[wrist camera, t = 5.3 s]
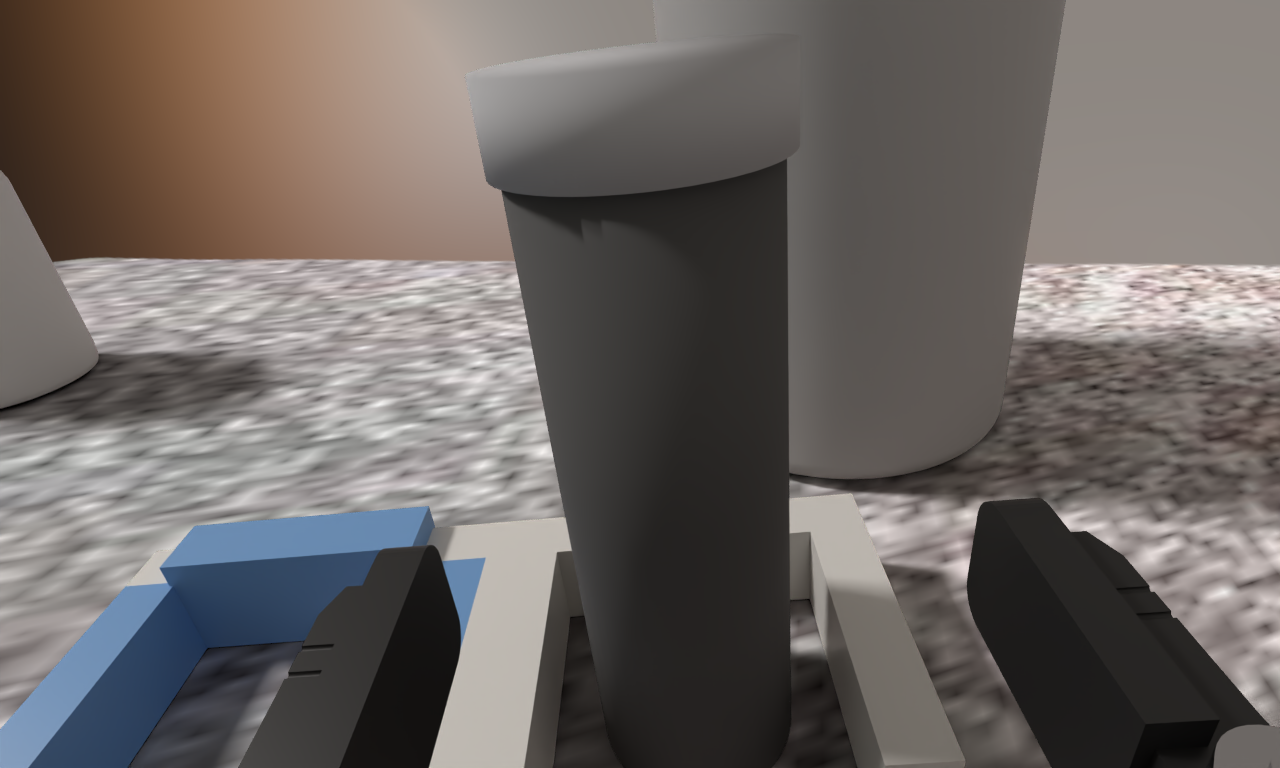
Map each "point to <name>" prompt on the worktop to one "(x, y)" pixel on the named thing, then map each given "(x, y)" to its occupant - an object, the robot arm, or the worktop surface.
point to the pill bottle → (35, 313)
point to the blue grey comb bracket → (490, 634)
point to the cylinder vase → (901, 215)
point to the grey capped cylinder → (663, 368)
